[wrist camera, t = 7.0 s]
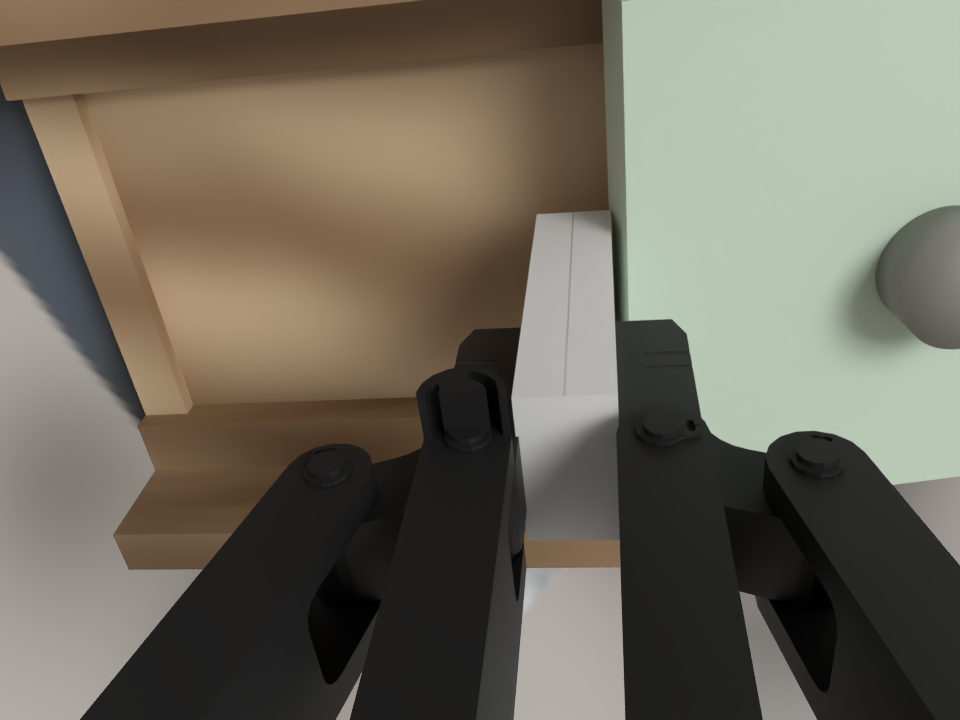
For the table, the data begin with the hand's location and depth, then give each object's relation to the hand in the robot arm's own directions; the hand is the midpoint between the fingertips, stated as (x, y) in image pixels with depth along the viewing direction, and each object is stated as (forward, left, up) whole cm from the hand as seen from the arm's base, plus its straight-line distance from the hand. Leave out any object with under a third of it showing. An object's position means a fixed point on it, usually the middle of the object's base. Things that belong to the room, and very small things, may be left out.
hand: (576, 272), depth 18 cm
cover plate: (0, +7, -1) cm, 7 cm away
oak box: (0, -4, -3) cm, 5 cm away
